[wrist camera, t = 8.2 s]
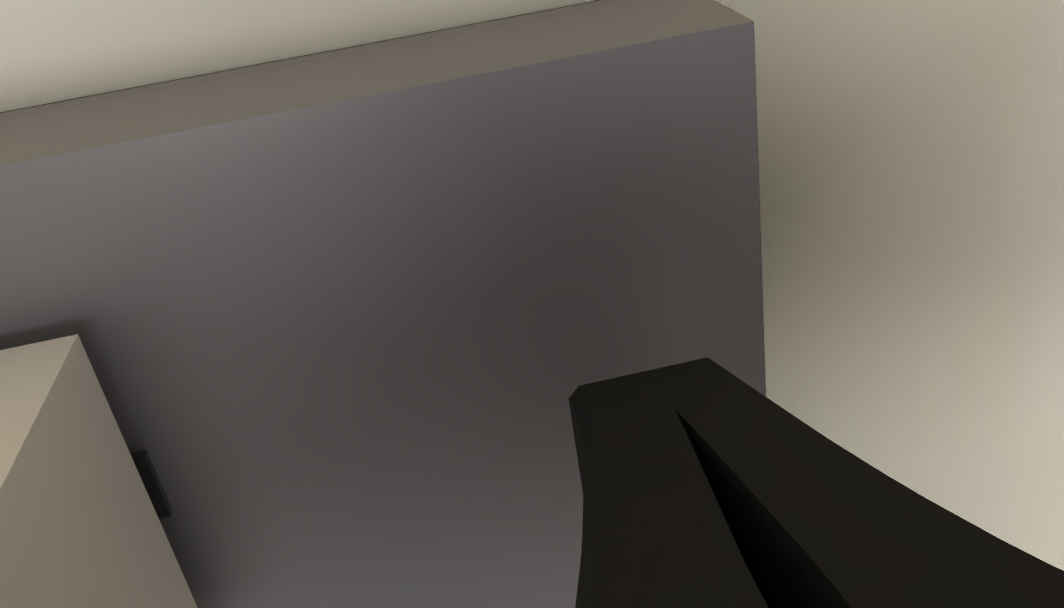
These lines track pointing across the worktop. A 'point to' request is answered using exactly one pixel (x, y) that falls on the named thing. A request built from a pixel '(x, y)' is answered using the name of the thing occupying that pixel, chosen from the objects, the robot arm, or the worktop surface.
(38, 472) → the ivory fader
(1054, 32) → the worktop surface
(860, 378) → the worktop surface
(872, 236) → the worktop surface
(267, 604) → the console
